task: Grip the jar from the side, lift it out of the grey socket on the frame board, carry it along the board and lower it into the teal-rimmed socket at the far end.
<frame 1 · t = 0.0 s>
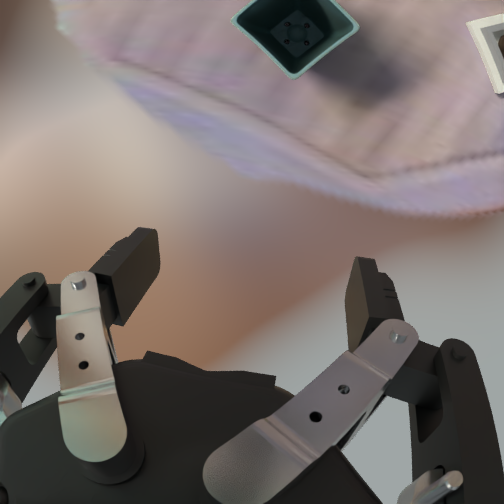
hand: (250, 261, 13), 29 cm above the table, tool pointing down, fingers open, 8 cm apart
flower pot: (298, 34, 31), on the table
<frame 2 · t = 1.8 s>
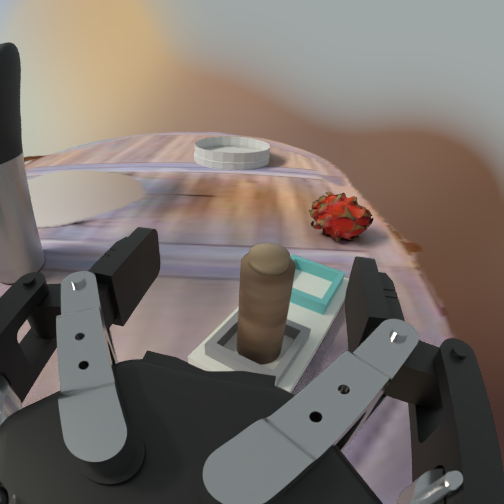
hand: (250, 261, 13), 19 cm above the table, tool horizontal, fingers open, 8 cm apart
jar: (258, 347, 31), point 1 cm above the table, touching frame board
frame board: (283, 321, 37), on the table
dragon fruit: (338, 236, 56), on the table
dish: (231, 160, 93), on the table
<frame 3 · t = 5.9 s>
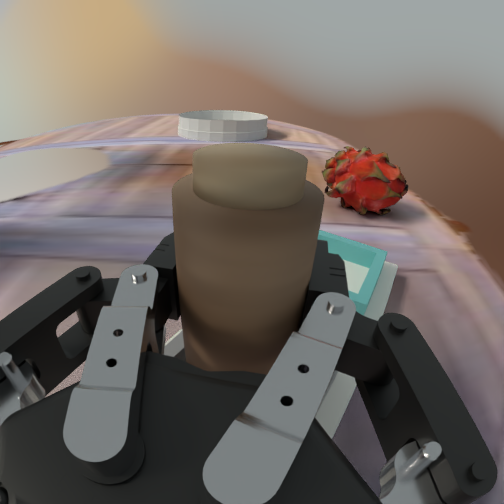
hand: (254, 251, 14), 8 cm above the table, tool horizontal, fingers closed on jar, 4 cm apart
jar: (237, 393, 14), point 1 cm above the table, touching gripper, frame board
frame board: (288, 336, 20), on the table
dragon fruit: (362, 209, 39), on the table
dish: (222, 134, 77), on the table
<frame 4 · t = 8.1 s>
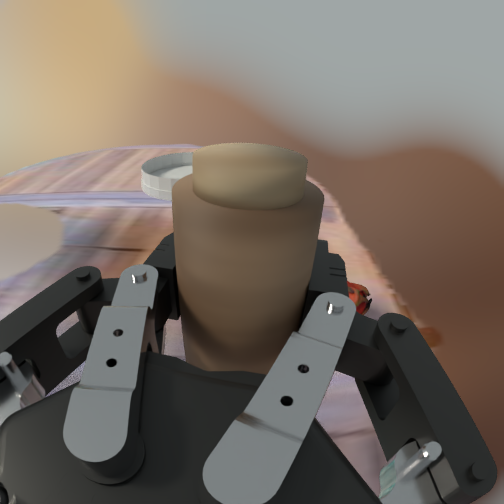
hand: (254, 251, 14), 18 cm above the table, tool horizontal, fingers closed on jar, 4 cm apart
jar: (237, 393, 14), point 12 cm above the table, touching gripper
dragon fruit: (314, 326, 35), on the table
dish: (189, 185, 73), on the table
when the fingers open (8 cm above the table, at t = 10.3 s): jar stays where it is, resting on frame board.
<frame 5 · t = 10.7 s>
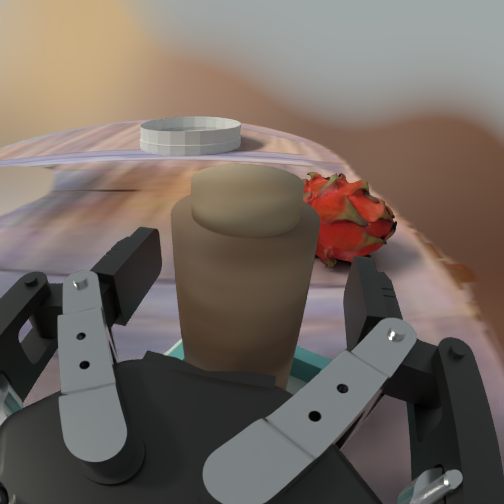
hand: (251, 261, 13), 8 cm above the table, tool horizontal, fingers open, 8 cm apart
jar: (236, 402, 15), point 1 cm above the table, touching frame board
frame board: (164, 497, 11), on the table
dragon fruit: (332, 255, 30), on the table
dish: (190, 145, 68), on the table
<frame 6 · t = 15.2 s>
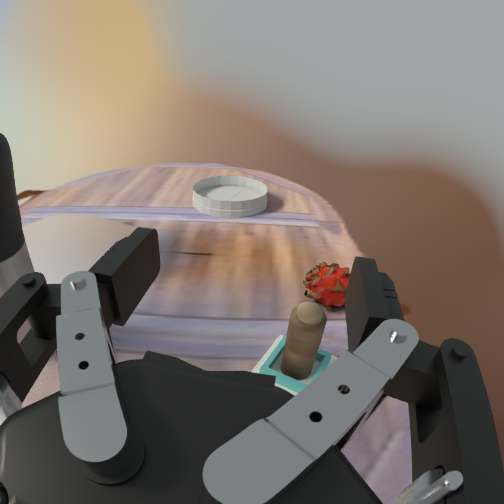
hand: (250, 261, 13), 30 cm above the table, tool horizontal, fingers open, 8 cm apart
jar: (295, 368, 43), point 1 cm above the table, touching frame board
frame board: (275, 402, 39), on the table
dragon fruit: (330, 301, 59), on the table
dish: (229, 203, 96), on the table
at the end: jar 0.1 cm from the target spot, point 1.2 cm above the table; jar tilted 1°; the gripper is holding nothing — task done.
